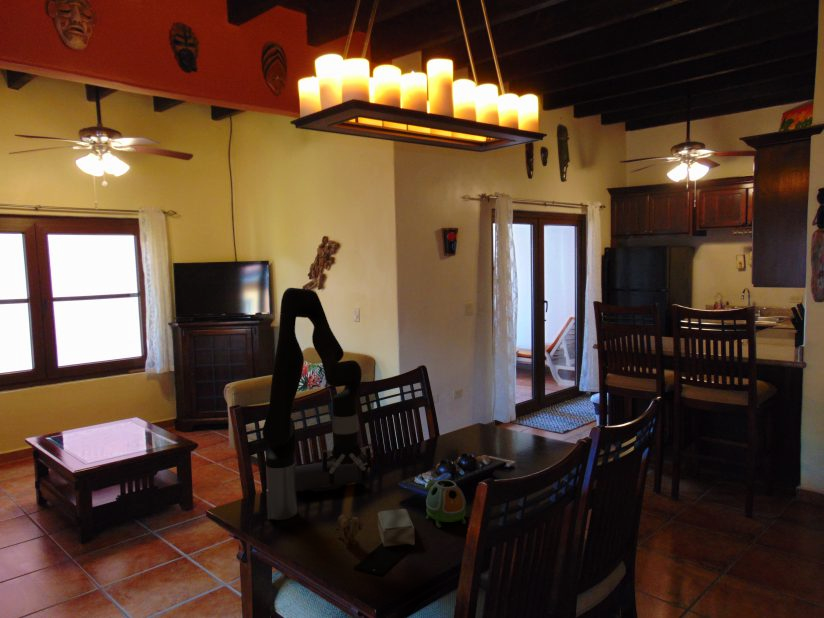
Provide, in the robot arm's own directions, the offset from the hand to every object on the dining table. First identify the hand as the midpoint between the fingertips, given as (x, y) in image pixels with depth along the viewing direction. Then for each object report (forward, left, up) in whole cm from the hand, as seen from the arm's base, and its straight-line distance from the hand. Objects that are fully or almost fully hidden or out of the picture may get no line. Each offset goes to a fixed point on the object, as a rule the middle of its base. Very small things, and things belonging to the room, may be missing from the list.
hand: (347, 483), depth 171 cm
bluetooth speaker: (-5, +43, -18) cm, 47 cm away
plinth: (+14, 0, -18) cm, 22 cm away
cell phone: (+9, -12, -18) cm, 23 cm away
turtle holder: (+31, +9, -18) cm, 37 cm away
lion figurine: (0, 0, -18) cm, 18 cm away
